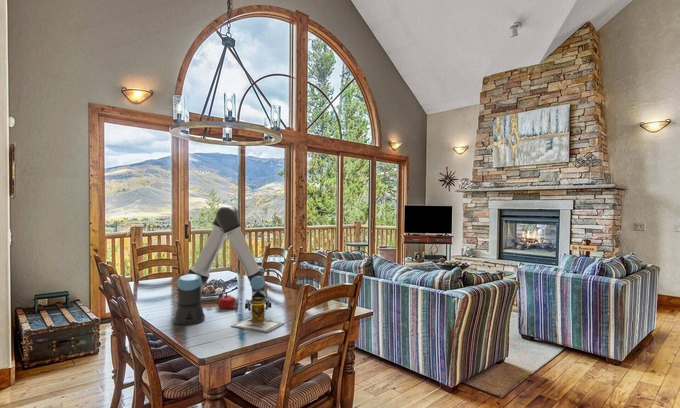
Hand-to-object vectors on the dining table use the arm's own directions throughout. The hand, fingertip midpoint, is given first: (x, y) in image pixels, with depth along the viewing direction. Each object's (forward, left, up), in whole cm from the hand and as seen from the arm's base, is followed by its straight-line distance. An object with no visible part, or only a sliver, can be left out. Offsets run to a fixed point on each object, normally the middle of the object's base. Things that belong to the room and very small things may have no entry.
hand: (258, 310), depth 193 cm
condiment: (-3, +4, -7) cm, 9 cm away
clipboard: (-3, +4, -9) cm, 11 cm away
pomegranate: (-38, +22, -10) cm, 45 cm away
